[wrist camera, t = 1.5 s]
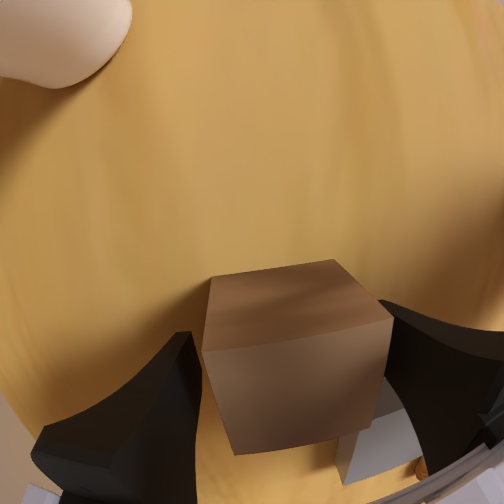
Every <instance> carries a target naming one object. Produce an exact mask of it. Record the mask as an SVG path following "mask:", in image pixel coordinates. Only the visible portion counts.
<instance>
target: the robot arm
mask: <svg viewBox="0 0 504 504" xmlns="http://www.w3.org/2000/svg"><path fill="white" fill-rule="evenodd" d="M378 302H379V303H380V304H381V305H382V306H383V307H384V308H385V309H386V310H387V311H388V312H389V313H390V314H391V315H392V316H393V317H394V320H393V327H392V334H391V340H390V346H389V352H388V357H387V362H386V367H385V372H384V376H385V378H386V379H387V381H388V382H389V384H390V385H391V387H392V388H393V390H394V391H395V393H396V394H397V396H398V397H399V399H400V401H401V402H402V404H403V406H404V408H405V410H406V412H407V414H408V417H409V419H410V421H411V423H412V426H413V428H414V431H415V433H416V436H417V438H418V441H419V444H420V447H421V450H422V453H423V456H424V460H425V464H426V467H427V471H428V476H429V477H428V478H426V479H424V480H422V481H420V482H418V483H416V484H414V485H412V486H409V487H407V488H405V489H403V490H401V491H398V492H396V493H394V494H391V495H389V496H386V497H384V498H381V499H379V500H376V501H373V502H370V503H368V504H421V503H423V502H425V501H427V500H429V499H430V498H432V497H434V496H436V495H438V494H439V493H440V495H439V496H438V498H436V499H435V500H433V501H431V502H429V503H427V504H504V332H502V331H485V330H477V329H471V328H465V327H461V326H457V325H452V324H449V323H445V322H442V321H439V320H436V319H433V318H430V317H427V316H425V315H422V314H419V313H417V312H414V311H412V310H409V309H407V308H404V307H402V306H399V305H397V304H394V303H391V302H388V301H385V300H378ZM201 396H202V368H201V365H200V361H199V358H198V355H197V351H196V347H195V344H194V340H193V337H192V333H191V331H187V332H176V333H175V334H174V335H173V336H172V337H171V339H170V340H169V341H168V342H167V343H166V344H165V345H164V346H163V348H162V349H161V350H160V351H159V352H158V353H157V354H156V355H155V356H154V358H153V359H152V360H151V361H150V362H149V363H148V364H147V365H146V366H145V367H144V368H143V369H142V370H141V371H140V372H139V373H138V374H137V375H135V376H134V377H133V378H132V379H131V380H130V381H129V382H127V383H126V384H125V385H124V386H122V387H121V388H120V389H119V390H117V391H116V392H114V393H113V394H112V395H110V396H108V397H107V398H105V399H104V400H102V401H101V402H99V403H97V404H96V405H94V406H92V407H90V408H89V409H87V410H85V411H83V412H81V413H78V414H76V415H74V416H72V417H70V418H67V419H64V420H62V421H59V422H56V423H53V424H50V425H47V426H44V428H43V430H42V432H41V433H40V435H39V437H38V439H37V441H36V443H35V445H34V447H33V449H32V451H31V458H32V461H33V462H34V463H35V465H36V466H37V467H38V468H39V469H40V470H41V471H42V472H43V473H44V474H45V475H46V476H47V477H48V478H49V479H51V480H52V481H53V482H54V483H55V484H56V485H57V486H59V487H60V488H61V489H62V490H63V493H62V496H59V495H57V494H56V493H54V492H52V491H49V490H47V489H44V488H42V487H40V486H37V485H35V484H33V483H29V484H28V487H27V489H26V492H25V494H24V497H23V500H22V502H21V504H197V491H196V472H195V442H196V432H197V424H198V417H199V410H200V403H201ZM441 492H442V493H441Z"/></svg>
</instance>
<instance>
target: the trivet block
mask: <svg viewBox="0 0 504 504" xmlns="http://www.w3.org/2000/svg"><path fill="white" fill-rule="evenodd" d="M422 455H423V453H422V450H421V447H420V444H419V441H418V438H417V436H416V433H415V431H414V428H413V426H412V423H411V421H410V419H409V417H408V414H407V412H406V410H405V408H404V406H403V404H402V402H401V401H400V399H399V397H398V396H397V394H396V393H395V391H394V390H393V388H392V387H391V385H390V384H389V382H388V381H387V379H384V380H383V381H382V385H381V390H380V394H379V398H378V402H377V405H376V409H375V413H374V416H373V420H372V423H371V427H370V428H368V429H365V430H362V431H359V432H356V433H352V434H349V435H345V436H342V437H339V442H338V448H337V453H336V458H335V464H336V467H337V470H338V473H339V476H340V479H341V482H342V485H343V486H344V485H348V484H351V483H354V482H358V481H361V480H364V479H367V478H369V477H372V476H375V475H378V474H381V473H383V472H386V471H388V470H391V469H393V468H396V467H398V466H400V465H403V464H405V463H407V462H409V461H412V460H414V459H416V458H418V457H420V456H422Z"/></svg>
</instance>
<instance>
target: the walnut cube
mask: <svg viewBox="0 0 504 504" xmlns="http://www.w3.org/2000/svg"><path fill="white" fill-rule="evenodd" d="M393 320H394V317H393V316H392V315H391V314H390V313H389V312H388V311H387V310H386V309H385V308H384V307H383V306H382V305H381V304H380V303H379V302H378V301H377V300H376V299H375V298H374V297H373V296H372V295H371V294H370V293H369V292H368V291H367V290H366V289H365V288H364V287H363V286H362V285H361V284H360V283H359V282H358V281H356V280H355V279H354V278H353V277H352V276H351V275H350V274H349V273H348V272H347V271H346V270H345V269H344V268H343V267H342V266H341V265H340V264H338V263H337V262H336V261H335V260H334V259H332V260H325V261H319V262H312V263H305V264H299V265H292V266H285V267H278V268H271V269H264V270H257V271H250V272H243V273H236V274H229V275H221V276H214V277H212V280H211V287H210V293H209V300H208V307H207V314H206V321H205V328H204V335H203V343H202V350H201V353H202V356H203V360H204V363H205V367H206V370H207V374H208V377H209V381H210V384H211V387H212V390H213V394H214V397H215V400H216V403H217V406H218V409H219V413H220V416H221V419H222V422H223V425H224V427H225V430H226V433H227V436H228V439H229V442H230V445H231V447H232V450H233V453H234V455H244V454H254V453H262V452H269V451H276V450H282V449H288V448H294V447H299V446H304V445H309V444H314V443H318V442H322V441H326V440H330V439H334V438H338V437H342V436H345V435H349V434H352V433H356V432H359V431H362V430H365V429H368V428H370V427H371V423H372V420H373V416H374V413H375V409H376V405H377V402H378V398H379V394H380V390H381V385H382V381H383V377H384V372H385V367H386V362H387V357H388V352H389V346H390V340H391V334H392V327H393Z"/></svg>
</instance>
